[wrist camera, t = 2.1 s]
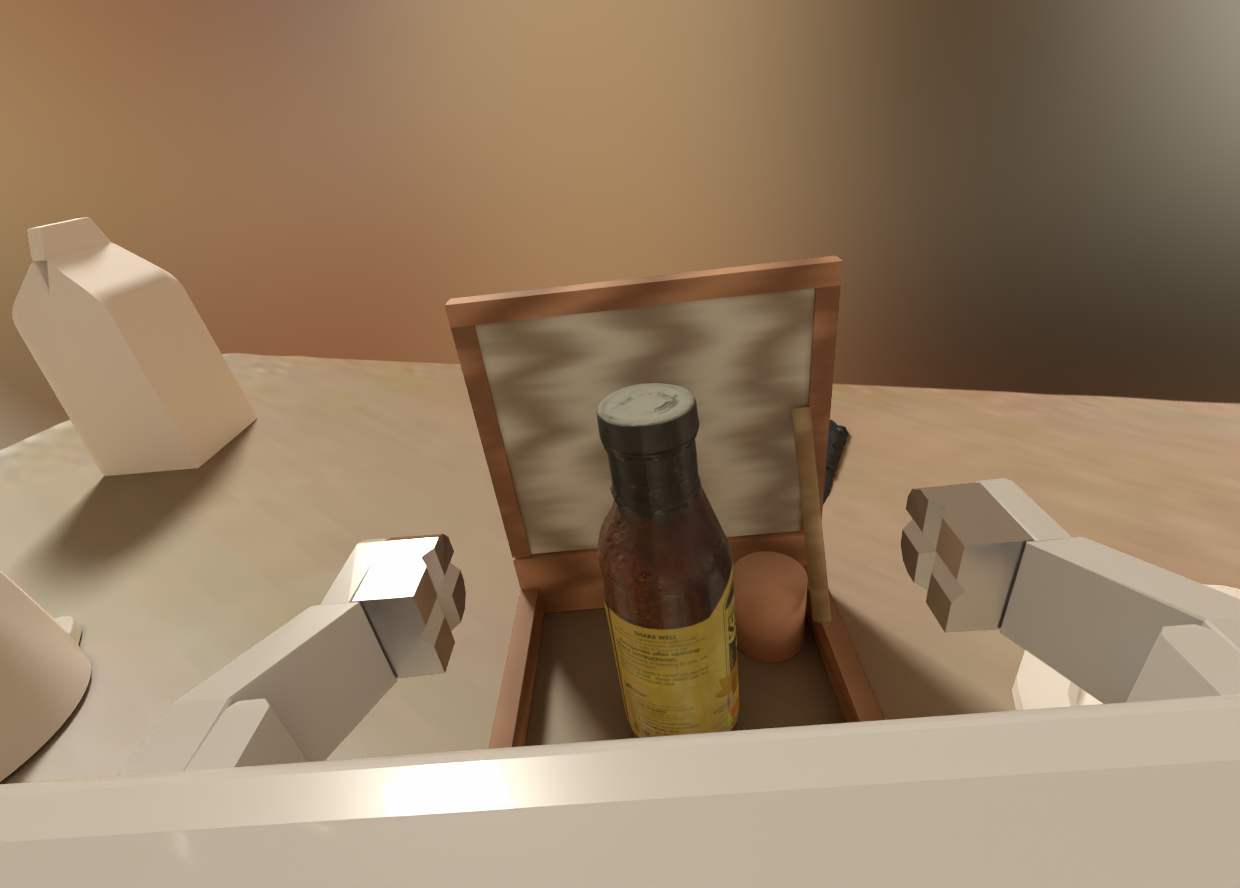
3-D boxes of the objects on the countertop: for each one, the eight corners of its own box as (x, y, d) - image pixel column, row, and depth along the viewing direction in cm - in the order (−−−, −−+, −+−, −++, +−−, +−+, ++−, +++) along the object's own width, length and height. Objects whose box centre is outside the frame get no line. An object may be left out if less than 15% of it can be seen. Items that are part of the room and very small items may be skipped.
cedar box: (476, 896, 26) (276, 500, 15) (529, 601, 42) (450, 298, 31) (928, 871, 25) (1074, 425, 14) (810, 578, 41) (835, 255, 29)
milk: (198, 468, 66) (61, 227, 52) (103, 476, 66) (-55, 241, 53) (257, 418, 76) (155, 206, 63) (175, 425, 77) (57, 218, 64)
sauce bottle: (761, 748, 31) (768, 418, 21) (653, 797, 29) (603, 466, 19) (704, 656, 36) (687, 359, 26) (610, 693, 35) (554, 393, 25)
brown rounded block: (739, 665, 35) (738, 606, 33) (727, 610, 39) (726, 554, 37) (812, 660, 35) (817, 600, 33) (793, 605, 39) (796, 548, 36)
